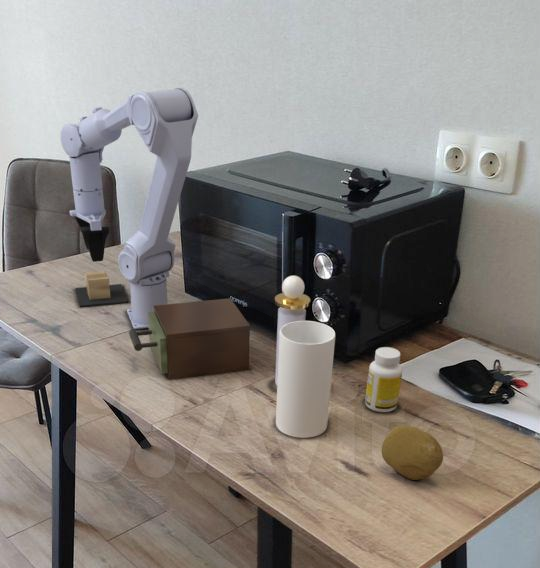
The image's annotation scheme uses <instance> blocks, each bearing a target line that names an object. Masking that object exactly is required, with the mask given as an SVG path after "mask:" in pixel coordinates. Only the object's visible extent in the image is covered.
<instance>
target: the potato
mask: <svg viewBox="0 0 540 568" xmlns="http://www.w3.org/2000/svg"><path fill="white" fill-rule="evenodd" d="M381 457H382V459H383V460H384V462H385V463H386V464H387V465H388V466H389V467H390V468H392V469H393V470H394V471H396V472H397V473H399V474H400V475H402V476H404V477H405V478H406V479H408V480H411V481H412V480H414V481H416V480H423V479H427V478H429V477H431V476H432V475H433V474H434V473H435V472H436V471H437V470H438V469H439V468H440V467H441V465H442V464H443V461H444V453H443V449H442V446H441V445H440V442H439V441H438V440H437V439H436V438H435V437H434V436H432V434H429V433H428V432H426V431H424V430H422V429H419V428H417V427H413V426H409V425H397V426H395V427H393V428H392V429H391V430H390V431H389V432H388V434H387V435H386V436H385V438H384V439H383V442H382V445H381Z"/></svg>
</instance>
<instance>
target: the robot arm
mask: <svg viewBox="0 0 540 568" xmlns="http://www.w3.org/2000/svg"><path fill="white" fill-rule="evenodd" d="M91 111H92V113H91V114H89V116H82V117H80V118H79V121H78V123H65V124H64V125H63V126H62V127H61V130H60V137H59V138H60V143H61V146H62V149H63V150H64V153H65V154H66V155H67V156H68V158H69V166H70V167H69V168H70V175H71V184H72V185H71V186H72V192H73V201H74V209H71V210H69V215H70V216H71V217H74V219H75V221H76V222H77V224H78V226H79V230H80V232H81V235H82V239H83V243H84V245H85V247H86V250H88V252H89V255H90V258H91V260H92V262H93V263H95V262H103V261H104V256H105V249H106V248H105V247H106V242H107V238H108V236H109V234H110V227H109V226H102V221H103V219H104V218H105V216H106V214H107V212H106V209H105V199H104V191H103V190H104V189H103V181H102V180H103V179H102V169H101V163H103V152H104V149H105V147H106V146H109V145H110V144H112V143H114V142H116V141H118V140H119V139H120V137H121V136H122V132H123V130H124V129H126V128H128V127H130V126H134V127H135V129H136V131H137V132H138V135H139V136H140V138H141V139H142V141H143V143H144V144H145V146H146V148H147V150H148V152H150V153H151V154H154V155H156V160H155V164H154V168H153V172H152V175H151V180H150V184H149V188H148V191H147V195H146V200H145V202H144V203H145V204H144V208H143V211H142V215H141V219H140V223H139V227H138V230H137V231H136V232H135V233H134V234H133V235H132V236H131V237H129V239H127V240H126V242H125V245H124V248H123V249H122V250H121V251H120V252H119V254H118V258H117V263H118V268H119V270H120V273H121V275H122V277H123V278H124V279H125V280H126V281H127V282H129V295H130V306H131V307H130V308H127V309H126V313H127V315H128V318H129V321H130V324H131V326H132V329H133V330H141V329H149V325H148V312H154V309H153V306H155V305H166V304H169V303H168V286H167V285H168V283H167V282H168V281H167V278H169V277H170V271H172V270H173V268H174V265H175V250H176V243H175V242H174V240H173V238H171V236H170V235H169V234H170V231H171V228H172V224H173V220H174V218H175V214H176V210H177V207H178V204H179V202H180V197H181V194H182V191H183V187H184V184H185V181H186V177H187V174H188V170H189V167H190V163H191V160H192V145H193V143H192V141H193V135H194V133H195V128H196V126H197V121H198V118H199V113H198V111H197V108H196V106H195V102H194V100H193V97H192V95H191V93H190V92H189V91H188V90H187V89H185V88H184V87H176V88H173V89H164V90H155V91H146V92H145V91H138V92H136V93H135V94H131V95H128V96H127V99H126V100H124V101H123V102H122V103H120V104H119V105H117V106H116V107H115V108H113V109H112V110H111V109H108V108H103V107H102V106H100V107H94V108H93V109H92V110H91Z"/></svg>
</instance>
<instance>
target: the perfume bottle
mask: <svg viewBox="0 0 540 568" xmlns="http://www.w3.org/2000/svg"><path fill="white" fill-rule="evenodd" d="M281 291H282V293H278V294H276V295H275V296H274V304H275V306H277V307H278V309H277V315H275V316H274V318H273V319H274V320H273V329H274V330H273V332H274V333H275V329H276V351H275V373H274V374H275V375H274V379H275V380H274V383H275V385H276V386H277V382H278V359H279V338H280V329H281V328H282V327H283V326H284V325H286V324H288V323H291V322H295V321H306V318H307V317H306V316H307V310H306V308H308V307H309V306H310V305H311V298H310V296H308V295H307V294H304V292H305V282H304V280H303V279H302V278H301V277H300V276H298V275H289V276H287V277H286V278H285V279H284V280H283V282H282V284H281ZM276 327H277V328H276Z"/></svg>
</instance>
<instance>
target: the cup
mask: <svg viewBox="0 0 540 568" xmlns="http://www.w3.org/2000/svg"><path fill="white" fill-rule="evenodd" d="M335 345H336V332H335V330H334V329H333V327H331V326H329V325H327V324H325V323H322V322H318V321H314V320H305V321H295V322H291V323H288V324H286V325H284V326H283V327H282V328H281V329H280V338H279V359H278V382H277V385H276V408H275V410H276V411H275V426H276V428H277V429H278V431H280V432H281V433H282V434H284V435H287V436H290V437H293V438H301V439H307V438H314V437H317V436H320V435H321V434H323V433H324V432H326V430H327V428H328V419H329V410H330V409H329V408H330V398H331V386H332V377H333V366H334V355H335Z"/></svg>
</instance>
